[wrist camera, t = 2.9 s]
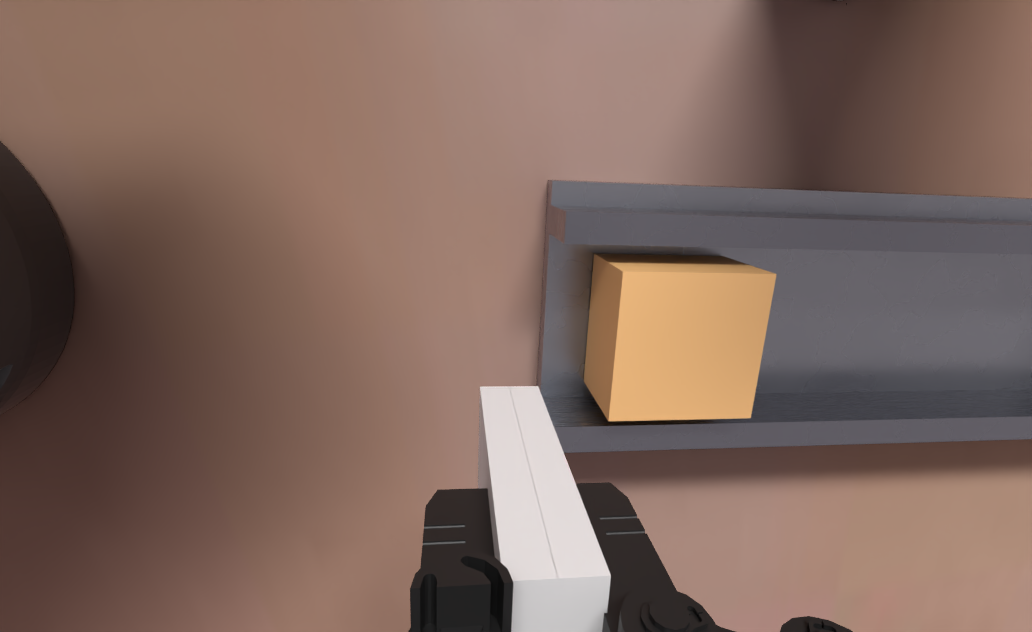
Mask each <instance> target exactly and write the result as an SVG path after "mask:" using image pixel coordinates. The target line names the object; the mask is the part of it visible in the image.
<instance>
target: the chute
mask: <svg viewBox="0 0 1032 632" xmlns="http://www.w3.org/2000/svg"><path fill="white" fill-rule="evenodd" d="M594 254H640V255H689V256H725V257H727V258H730V259H733V260H736V261H739V262H742V263H745V264H748V265H751V266H754V267H757V268H760V269H763V270H766V271H769V272H772V273H775V274H777V275H776V280H775V286H774V291H773V297H772V302H771V308H770V314H769V319H768V325H767V330H766V336H765V341H764V347H763V353H762V358H761V364H760V369H759V375H758V380H757V386H756V392H755V397H754V403H753V408H752V414H751V418H740V419H694V420H648V421H608V420H607V418H606V417H605V415H604V413H603V412H602V410H601V408H600V407H599V405H598V404H597V402H596V400H595V399H594V397H593V395H592V394H591V392H590V391H589V389H588V387H587V386H586V384H585V383H584V371H585V359H586V346H587V334H588V322H589V309H590V297H591V285H592V272H593V260H594ZM537 386H538V387H539V390H540V392H541V395H542V398H543V400H544V403H545V405H546V408H547V411H548V413H549V416H550V418H551V421H552V424H553V426H554V429H555V431H556V434H557V437H558V439H559V442H560V444H561V447H562V450H563V452H564V453H574V452H608V451H643V450H677V449H711V448H745V447H779V446H813V445H848V444H882V443H916V442H950V441H984V440H1018V439H1032V199H1030V198H1004V197H978V196H952V195H926V194H900V193H874V192H848V191H822V190H795V189H769V188H743V187H717V186H691V185H665V184H639V183H613V182H587V181H561V180H548V193H547V211H546V230H545V248H544V266H543V284H542V302H541V321H540V339H539V357H538V375H537Z"/></svg>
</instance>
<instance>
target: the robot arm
mask: <svg viewBox="0 0 1032 632" xmlns="http://www.w3.org/2000/svg"><path fill="white" fill-rule="evenodd" d="M73 307H74V283H73V274H72V267H71V262H70V258H69V253H68V249H67V246H66V243H65V240H64V237H63V234H62V232H61V229H60V227H59V224H58V222H57V220H56V218H55V216H54V214H53V212H52V210H51V208H50V206H49V204H48V202H47V201H46V199H45V197H44V195H43V194H42V192H41V191H40V189H39V188H38V186H37V185H36V183H35V182H34V180H33V179H32V177H31V176H30V175H29V174H28V172H27V171H26V170H25V168H24V167H23V166H22V165H21V163H20V162H19V161H18V160H17V159H16V158H15V156H14V155H13V154H12V153H11V152H10V151H9V150H8V149H7V148H6V147H5V146H4V145H3V144H2V143H1V142H0V414H2V413H4V412H6V411H7V410H9V409H11V408H12V407H14V406H15V405H17V404H18V403H20V402H21V401H22V400H24V399H25V398H26V397H27V396H28V395H30V394H31V393H32V392H33V391H34V390H35V389H36V388H37V387H38V386H39V385H40V384H41V383H42V382H43V380H44V379H45V378H46V377H47V375H48V374H49V373H50V371H51V370H52V368H53V367H54V365H55V364H56V362H57V360H58V358H59V357H60V355H61V353H62V350H63V348H64V346H65V343H66V341H67V337H68V334H69V331H70V327H71V322H72V316H73ZM478 488H479V489H450V490H437V492H436V493H435V494H434V496H433V497H432V498H431V500H430V501H429V503H428V504H427V505H426V510H425V522H424V534H423V546H422V558H421V568H420V570H419V571H418V572H417V573H416V574H415V577H414V579H413V582H412V585H411V588H410V604H411V628H410V630H409V632H735V631H731V630H728V629H725V628H721V627H719V626H717V625H716V624H715V622H714V621H713V619H712V618H711V617H710V615H709V614H708V613H707V612H706V610H705V609H704V608H703V607H702V606H701V605H700V604H699V603H697V602H696V601H694V600H693V599H691V598H690V597H689V596H687V595H686V594H683V593H680V592H678V591H677V590H676V588H675V586H674V585H673V583H672V581H671V579H670V577H669V575H668V573H667V571H666V569H665V567H664V566H663V564H662V562H661V560H660V558H659V556H658V554H657V552H656V550H655V548H654V547H653V545H652V543H651V541H650V539H649V537H648V535H647V534H645V529H644V528H643V526H642V524H641V522H640V520H639V519H637V514H636V512H635V510H634V509H633V507H632V505H631V503H630V501H629V499H628V497H627V496H625V495H624V494H623V493H622V492H621V491H619V490H618V489H617V488H616V487H615V486H613V485H612V484H611V483H580V484H576V483H575V481H574V478H573V476H572V473H571V470H570V468H569V465H568V463H567V460H566V457H565V455H564V452H563V450H562V447H561V444H560V442H559V439H558V437H557V434H556V431H555V429H554V426H553V424H552V421H551V418H550V416H549V413H548V411H547V408H546V405H545V403H544V400H543V398H542V395H541V392H540V390H539V387H538V386H500V387H480V409H479V454H478ZM780 632H852V631H851V630H849V629H847V628H845V627H843V626H840V625H838V624H836V623H834V622H831V621H829V620H825V619H820V618H815V617H810V616H807V617H798V618H792V619H791V620H789V621H788V622H786V623H785V624H783V625H782V627H781V630H780Z"/></svg>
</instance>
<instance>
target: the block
mask: <svg viewBox="0 0 1032 632" xmlns="http://www.w3.org/2000/svg"><path fill="white" fill-rule="evenodd" d="M776 275H777V274H775V273H772V272H769V271H766V270H763V269H760V268H757V267H754V266H751V265H748V264H745V263H742V262H739V261H736V260H733V259H730V258H727V257H725V256H689V255H640V254H594V260H593V272H592V285H591V297H590V309H589V322H588V334H587V346H586V359H585V371H584V383H585V384H586V386H587V387H588V389H589V391H590V392H591V394H592V395H593V397H594V399H595V400H596V402H597V404H598V405H599V407H600V408H601V410H602V412H603V413H604V415H605V417H606V418H607V420H608V421H648V420H694V419H740V418H751V414H752V408H753V403H754V397H755V392H756V386H757V380H758V375H759V369H760V364H761V358H762V353H763V347H764V341H765V336H766V330H767V325H768V319H769V314H770V308H771V302H772V297H773V291H774V286H775V280H776Z"/></svg>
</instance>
